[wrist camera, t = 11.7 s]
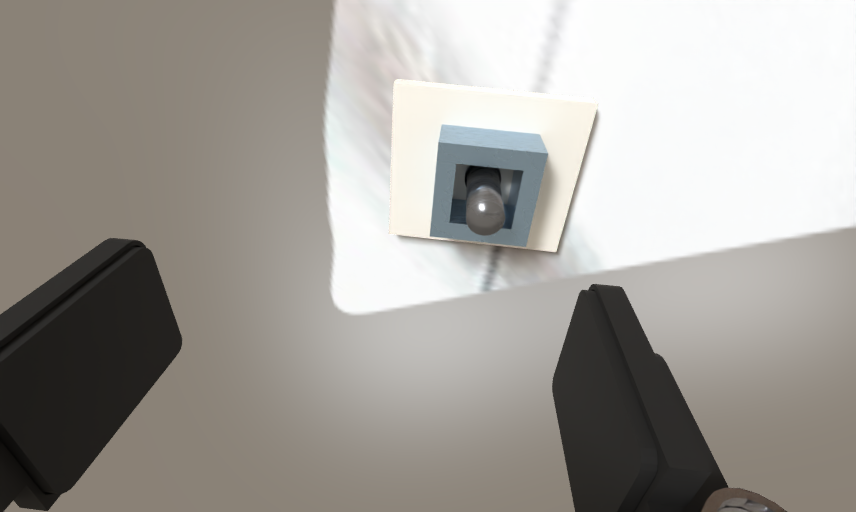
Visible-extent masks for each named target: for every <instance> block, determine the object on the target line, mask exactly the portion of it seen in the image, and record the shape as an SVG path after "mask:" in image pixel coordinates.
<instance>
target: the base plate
mask: <svg viewBox="0 0 856 512" xmlns="http://www.w3.org/2000/svg"><path fill="white" fill-rule="evenodd" d="M597 107H598V103H597V102H596V101H595V100H594V99H593V98H585V97H574V96H564V95H554V94H544V93H534V92H524V91H514V90H504V89H494V88H484V87H473V86H463V85H453V84H443V83H433V82H423V81H413V80H403V79H396V81H395V82H394V88H393V119H392V150H391V181H390V212H389V234H393V235H402V236H411V237H421V238H430V239H439V240H448V241H458V242H467V243H476V244H485V245H495V246H504V247H513V248H522V249H532V250H541V251H550V252H556V251H557V247H558V244H559V240H560V237H561V233H562V230H563V226H564V223H565V219H566V216H567V212H568V209H569V205H570V202H571V198H572V195H573V191H574V188H575V184H576V181H577V177H578V174H579V170H580V167H581V163H582V160H583V156H584V153H585V149H586V146H587V142H588V139H589V135H590V132H591V128H592V125H593V121H594V118H595V114H596V111H597ZM442 124H444V125H454V126H463V127H473V128H483V129H493V130H503V131H512V132H522V133H532V134H540V136H541V138H542V141H543V143H544V145H545V147H546V149H547V152H548V157H547V161H546V165H545V169H544V174H543V178H542V182H541V186H540V190H539V195H538V199H537V203H536V207H535V211H534V215H533V220H532V224H531V228H530V232H529V236H528V241H527V245H526V247H522V246H512V245H503V244H494V243H485V242H476V241H466V240H457V239H448V238H439V237H430V227H431V216H432V205H433V195H434V184H435V173H436V162H437V152H438V141H439V136H440V131H441V126H442ZM469 166H470V165H464V164H456V171H455V179H454V188H453V196H452V199H460V200H466V189H467V187H466V185H465V172H466V170H467V168H468V167H469ZM499 170H500V173H501V183H500V187H501V193H502V200H503V204H507V203H508V198H509V193H510V187H511V182H512V177H513V172H514V170H512V169H503V168H499Z"/></svg>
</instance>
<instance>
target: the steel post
mask: <svg viewBox="0 0 856 512" xmlns="http://www.w3.org/2000/svg"><path fill="white" fill-rule="evenodd" d="M500 183H501V173H500V170H499V168H493V167H484V166H474V165H470V166H469V167H468V168H467V170H466V172H465V185H466V187H467V189H466V222H467V225H468V227H469V229H470V230H471V231H472V232H474V233H476V234H478V235H482V236H488V235H492V234H494V233H496V232H498V231H499V230H500V229H501V228H502V226H503V225H504V222H505V213H504V207H503V200H502V193H501V187H500Z"/></svg>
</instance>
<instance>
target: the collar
mask: <svg viewBox="0 0 856 512" xmlns="http://www.w3.org/2000/svg"><path fill="white" fill-rule="evenodd" d="M547 157H548V152H547V149H546V147H545V145H544V143H543V141H542V138H541V136H540V134H532V133H522V132H512V131H503V130H493V129H483V128H473V127H463V126H454V125H444V124H442V126H441V131H440V136H439V141H438V152H437V162H436V173H435V184H434V195H433V205H432V216H431V227H430V237H439V238H448V239H457V240H466V241H476V242H485V243H494V244H503V245H512V246H522V247H526V245H527V241H528V236H529V232H530V228H531V224H532V220H533V215H534V211H535V207H536V203H537V199H538V195H539V190H540V186H541V182H542V178H543V174H544V169H545V165H546V161H547ZM456 164H464V165H474V166H484V167H493V168H503V169H512V170H514V172H513V177H512V182H511V187H510V193H509V198H508V203H507V204H503V207H504V213H505V222H504V225H503V226H502V228H501V229H500V230H499V231H498V232H496V233H494V234H492V235H488V236H482V235H478V234H476V233H474V232H472V231H471V230H470V229H469V227H468V225H467V222H466V200H460V199H452V196H453V188H454V179H455V171H456Z"/></svg>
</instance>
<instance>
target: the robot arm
mask: <svg viewBox="0 0 856 512" xmlns="http://www.w3.org/2000/svg"><path fill="white" fill-rule="evenodd" d="M181 346H182V337H181V334H180V331H179V328H178V325H177V322H176V319H175V316H174V314H173V311H172V308H171V305H170V302H169V299H168V296H167V294H166V291H165V288H164V285H163V283H162V279H161V276H160V274H159V271H158V268H157V265H156V262H155V259H154V256H153V254H152V252H151V251H150V250H149V249H148V248H146V246H145V245H144V244H143V243H142V242H140V241H137V240H128V239H117V238H110V239H107V240H105V241H103V242H102V243H101V244H99V245H98V246H96V247H95V248H94V249H92V250H91V251H89V252H88V253H87V254H85V255H84V256H82V257H81V258H80V259H78V260H77V261H75V262H74V263H72V264H71V265H70V266H68V267H67V268H65V269H64V270H63V271H61V272H60V273H58V274H57V275H56V276H54V277H53V278H51V279H50V280H49V281H47V282H46V283H44V284H43V285H41V286H40V287H39V288H37V289H36V290H34V291H33V292H32V293H30V294H29V295H27V296H26V297H24V298H23V299H22V300H21V301H19V302H17V303H16V304H15V305H13V306H12V307H10V308H9V309H8V310H6V311H5V312H3V313H2V314H1V315H0V512H4V510H5V509H6V508H7V507H8V506H9V505H10V503H11V502H12V501H13V500H14V501H15V502H16V504H17V505H18V506H19V507H21V508H29V509H36V510H44V511H48V510H49V509H50V507H51V506H52V505H53V504H54V502H55V501H56V500H57V499H58V497H59V496H60V495H61V494H62V493H65V492H67V491H68V490H70V489H71V488H72V487H73V486H74V485H75V484H76V482H77V481H78V480H79V478H80V477H81V476H82V475H83V473H84V472H85V471H86V470H87V468H88V467H89V466H90V465H91V463H92V462H93V461H94V460H95V458H96V457H97V456H98V455H99V453H100V452H101V451H102V449H103V448H104V447H105V446H106V444H107V443H108V442H109V441H110V439H111V438H112V437H113V435H114V434H115V433H116V432H117V430H118V429H119V428H120V427H121V425H122V424H123V423H124V422H125V420H126V419H127V417H129V415H130V414H131V413H132V411H133V410H134V409H135V408H136V406H137V405H138V404H139V403H140V401H141V400H142V399H143V397H144V396H145V395H146V394H147V392H148V391H149V390H150V389H151V387H152V386H153V385H154V383H155V382H156V381H157V380H158V379H159V377H160V376H161V375H162V373H163V372H164V371H165V370H166V368H167V367H168V366H169V365H170V363H171V362H172V361H173V359H174V358H175V357H176V355H177V354H178V353H179V351H180V349H181ZM552 390H553V397H554V402H555V408H556V413H557V418H558V423H559V428H560V434H561V439H562V444H563V450H564V454H565V460H566V465H567V471H568V476H569V481H570V487H571V492H572V497H573V502H574V507H575V512H787V511H786V510H784V509H783V508H782V507H780V506H779V505H778V504H776V503H775V502H773V501H771V500H769V499H767V498H765V497H764V496H762V495H760V494H758V493H755V492H752V491H748V490H745V489H741V488H729V487H728V485H727V483H726V481H725V479H724V477H723V475H722V473H721V471H720V469H719V467H718V465H717V463H716V461H715V460H714V457H713V455H712V453H711V451H710V449H709V447H708V445H707V443H706V441H705V439H704V437H703V436H702V433H701V431H700V430H699V427H698V425H697V423H696V421H695V419H694V418H693V415H692V413H691V411H690V409H689V408H688V405H687V403H686V401H685V399H684V398H683V396H682V393H681V391H680V389H679V387H678V385H677V384H676V381H675V379H674V377H673V375H672V373H671V371H670V369H669V367H668V366H667V363H666V362H665V360H664V359H663V358H662V357H661V356H660V355H658V354H655V353H654V352H653V350H652V347H651V345H650V343H649V341H648V339H647V337H646V335H645V333H644V331H643V329H642V327H641V325H640V323H639V320H638V319H637V316H636V314H635V312H634V310H633V308H632V306H631V304H630V302H629V300H628V298H627V296H626V294H625V292H624V290H623V289H622V287H620V286H609V285H599V284H592V285H591V287H590V288H589V290H582V291H581V292H580V293H579V296H578V299H577V302H576V306H575V309H574V312H573V315H572V319H571V322H570V325H569V328H568V332H567V335H566V338H565V342H564V345H563V348H562V351H561V354H560V357H559V361H558V364H557V367H556V370H555V373H554V377H553V385H552Z"/></svg>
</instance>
